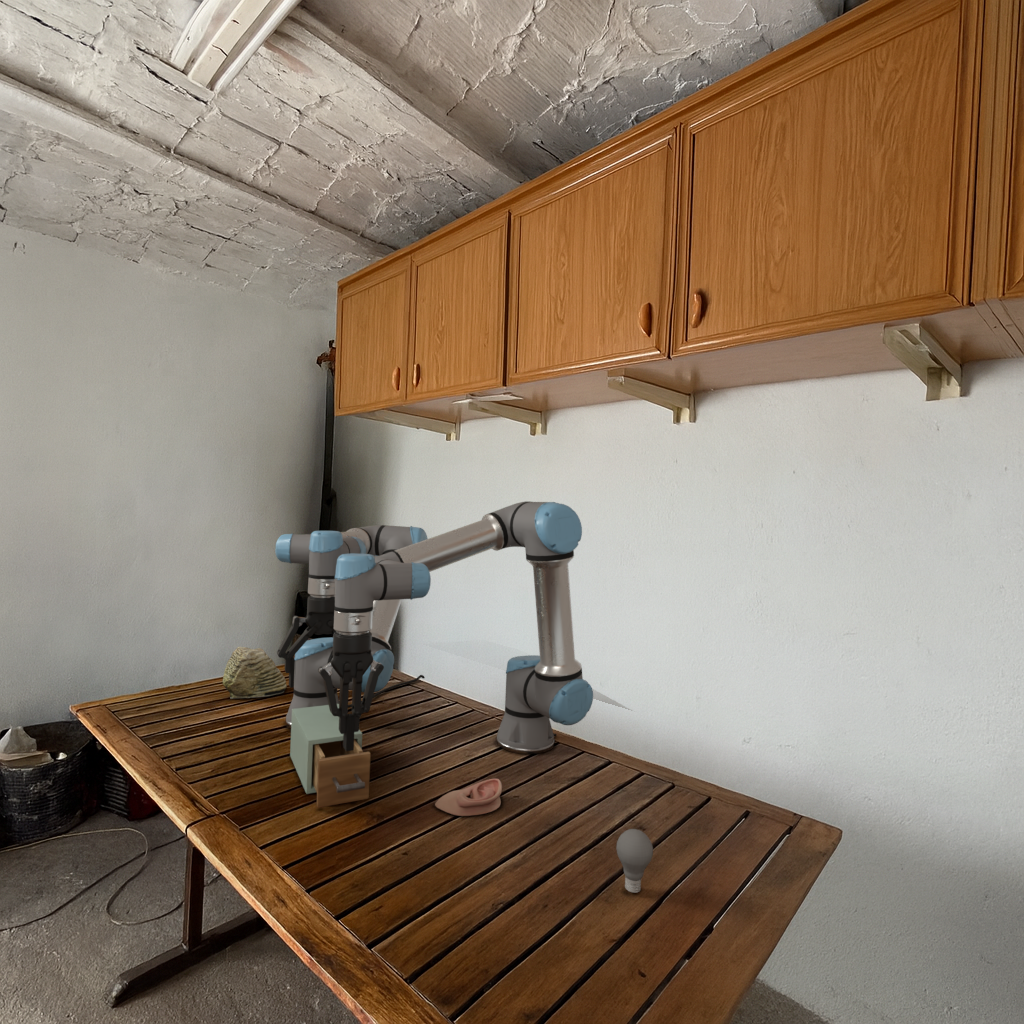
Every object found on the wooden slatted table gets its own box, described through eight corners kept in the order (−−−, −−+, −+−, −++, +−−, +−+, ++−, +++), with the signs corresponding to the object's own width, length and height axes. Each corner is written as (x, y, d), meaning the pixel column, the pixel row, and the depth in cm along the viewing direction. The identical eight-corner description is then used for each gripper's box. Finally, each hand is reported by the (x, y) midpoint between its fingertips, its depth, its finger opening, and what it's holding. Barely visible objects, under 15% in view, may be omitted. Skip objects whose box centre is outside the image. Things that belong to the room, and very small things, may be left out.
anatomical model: (430, 792, 129) (447, 769, 140) (429, 811, 129) (446, 787, 140) (494, 801, 126) (506, 777, 137) (493, 821, 126) (505, 795, 138)
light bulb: (610, 879, 108) (613, 822, 108) (644, 879, 109) (647, 822, 109) (619, 902, 102) (622, 840, 102) (655, 901, 103) (658, 840, 103)
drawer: (376, 810, 127) (378, 763, 127) (323, 821, 122) (325, 772, 122) (345, 761, 150) (347, 721, 150) (300, 768, 145) (301, 726, 145)
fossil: (218, 695, 195) (220, 647, 195) (278, 685, 208) (279, 640, 207) (228, 703, 189) (230, 653, 188) (289, 692, 201) (290, 645, 201)
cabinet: (360, 784, 140) (362, 733, 140) (306, 794, 135) (308, 740, 134) (338, 748, 159) (340, 703, 159) (290, 755, 154) (291, 708, 153)
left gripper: (271, 599, 142) (267, 693, 143) (379, 596, 154) (376, 682, 155) (266, 594, 149) (263, 684, 150) (371, 591, 161) (368, 674, 161)
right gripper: (323, 637, 120) (318, 760, 121) (390, 633, 126) (385, 750, 127) (315, 629, 127) (311, 746, 127) (379, 625, 133) (375, 737, 133)
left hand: (320, 683), depth 152 cm, fingers open, 13 cm apart
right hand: (348, 748), depth 127 cm, fingers closed
